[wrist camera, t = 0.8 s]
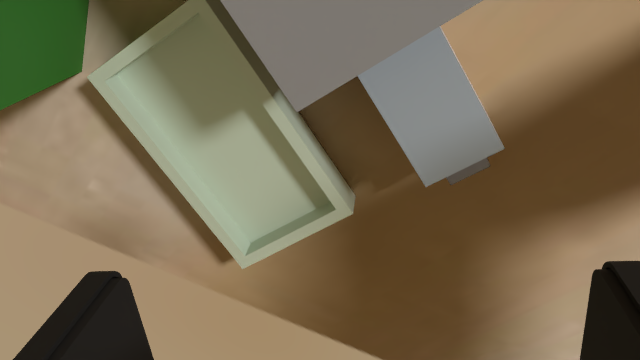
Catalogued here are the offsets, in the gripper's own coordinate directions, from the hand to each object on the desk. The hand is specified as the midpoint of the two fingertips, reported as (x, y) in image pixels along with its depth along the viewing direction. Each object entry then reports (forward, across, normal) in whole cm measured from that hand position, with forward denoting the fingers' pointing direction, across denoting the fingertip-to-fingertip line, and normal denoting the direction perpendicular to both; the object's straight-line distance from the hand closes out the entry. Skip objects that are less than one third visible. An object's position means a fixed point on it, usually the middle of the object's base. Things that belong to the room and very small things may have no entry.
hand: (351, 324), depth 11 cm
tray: (+24, +10, +4) cm, 26 cm away
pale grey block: (+24, -2, 0) cm, 24 cm away
